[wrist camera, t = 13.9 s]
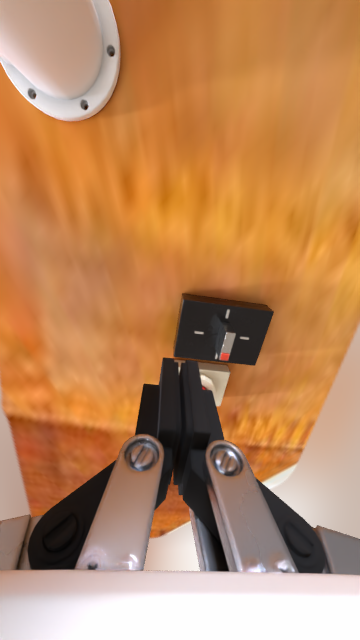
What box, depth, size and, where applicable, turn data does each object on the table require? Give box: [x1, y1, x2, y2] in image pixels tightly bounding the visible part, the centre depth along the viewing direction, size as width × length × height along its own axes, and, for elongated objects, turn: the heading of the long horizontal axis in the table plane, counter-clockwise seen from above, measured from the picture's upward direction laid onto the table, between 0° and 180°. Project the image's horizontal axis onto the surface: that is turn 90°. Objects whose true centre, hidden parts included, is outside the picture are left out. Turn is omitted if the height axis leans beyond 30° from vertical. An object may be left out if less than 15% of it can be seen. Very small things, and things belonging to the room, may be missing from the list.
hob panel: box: [173, 294, 274, 365], centre depth 36 cm, size 14×10×3 cm
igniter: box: [174, 360, 230, 406], centre depth 40 cm, size 11×8×4 cm
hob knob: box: [215, 322, 236, 361], centre depth 33 cm, size 5×1×4 cm, turn 171°
